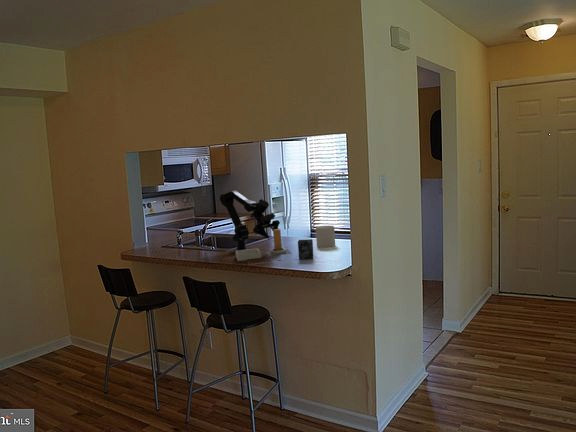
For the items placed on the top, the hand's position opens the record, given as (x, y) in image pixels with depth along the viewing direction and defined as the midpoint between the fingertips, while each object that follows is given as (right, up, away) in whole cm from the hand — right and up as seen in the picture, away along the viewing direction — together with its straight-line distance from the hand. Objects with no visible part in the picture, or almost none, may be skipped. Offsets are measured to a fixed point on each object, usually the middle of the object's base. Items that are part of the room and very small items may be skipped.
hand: (274, 236), depth 307 cm
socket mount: (+3, -10, 0) cm, 11 cm away
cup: (+32, -7, +15) cm, 36 cm away
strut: (+3, -9, -1) cm, 10 cm away
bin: (-15, -12, -6) cm, 20 cm away
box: (+19, -12, -18) cm, 28 cm away
